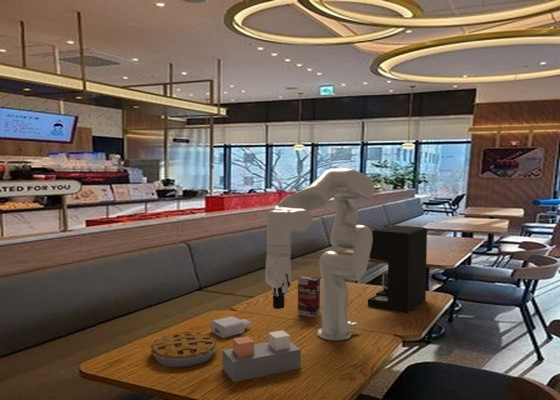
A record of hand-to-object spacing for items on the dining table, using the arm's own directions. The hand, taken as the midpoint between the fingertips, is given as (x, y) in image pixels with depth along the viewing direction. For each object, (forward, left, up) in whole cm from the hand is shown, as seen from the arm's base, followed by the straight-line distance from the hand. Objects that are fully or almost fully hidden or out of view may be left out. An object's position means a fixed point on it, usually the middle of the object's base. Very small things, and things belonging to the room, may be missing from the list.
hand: (278, 307), depth 143 cm
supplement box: (-33, -40, -19) cm, 55 cm away
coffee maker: (-80, -39, -19) cm, 91 cm away
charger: (+2, -36, -19) cm, 40 cm away
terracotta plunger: (+12, 0, -14) cm, 19 cm away
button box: (+6, 0, -18) cm, 19 cm away
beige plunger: (0, 0, -14) cm, 14 cm away
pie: (+25, -21, -19) cm, 38 cm away
